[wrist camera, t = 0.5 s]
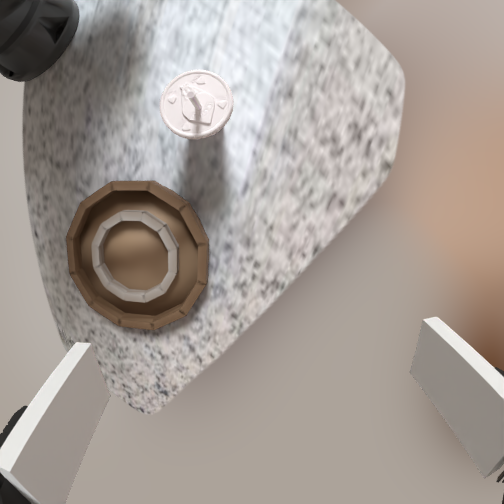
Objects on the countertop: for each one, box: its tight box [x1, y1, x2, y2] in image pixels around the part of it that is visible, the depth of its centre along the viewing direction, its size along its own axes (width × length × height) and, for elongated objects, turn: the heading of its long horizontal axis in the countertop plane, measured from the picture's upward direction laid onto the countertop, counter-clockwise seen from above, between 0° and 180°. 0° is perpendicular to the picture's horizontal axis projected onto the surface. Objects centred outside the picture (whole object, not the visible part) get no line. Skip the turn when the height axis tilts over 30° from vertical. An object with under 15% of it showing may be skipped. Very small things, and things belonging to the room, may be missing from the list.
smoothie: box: [160, 70, 233, 139], centre depth 25 cm, size 6×6×14 cm
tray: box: [66, 181, 209, 330], centre depth 34 cm, size 18×18×3 cm
